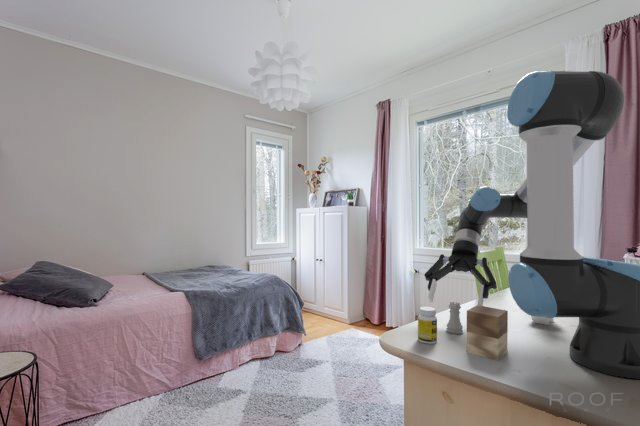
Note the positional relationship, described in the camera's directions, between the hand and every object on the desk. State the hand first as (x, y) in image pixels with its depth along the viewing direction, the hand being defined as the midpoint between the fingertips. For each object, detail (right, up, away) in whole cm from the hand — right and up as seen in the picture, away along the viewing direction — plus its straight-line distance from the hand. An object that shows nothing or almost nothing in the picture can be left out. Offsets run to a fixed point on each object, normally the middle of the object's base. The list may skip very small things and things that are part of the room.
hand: (454, 303), depth 98 cm
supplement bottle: (-10, -8, -9) cm, 16 cm away
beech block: (+2, -8, -16) cm, 18 cm away
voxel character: (+29, -8, +6) cm, 31 cm away
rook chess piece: (-1, -8, -2) cm, 8 cm away
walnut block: (+2, -3, -16) cm, 16 cm away
